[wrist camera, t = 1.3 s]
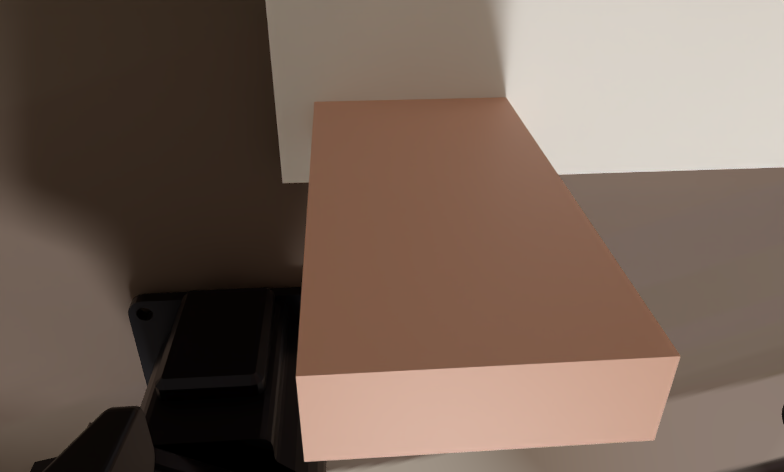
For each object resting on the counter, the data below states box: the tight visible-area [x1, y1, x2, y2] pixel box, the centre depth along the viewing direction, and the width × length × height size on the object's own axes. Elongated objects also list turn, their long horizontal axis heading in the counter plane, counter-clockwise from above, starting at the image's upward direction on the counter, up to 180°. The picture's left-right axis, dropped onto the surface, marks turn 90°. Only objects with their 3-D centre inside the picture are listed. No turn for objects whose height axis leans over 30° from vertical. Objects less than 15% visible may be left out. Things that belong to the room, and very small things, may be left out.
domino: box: [296, 97, 681, 462], centre depth 13 cm, size 2×5×10 cm, turn 90°
